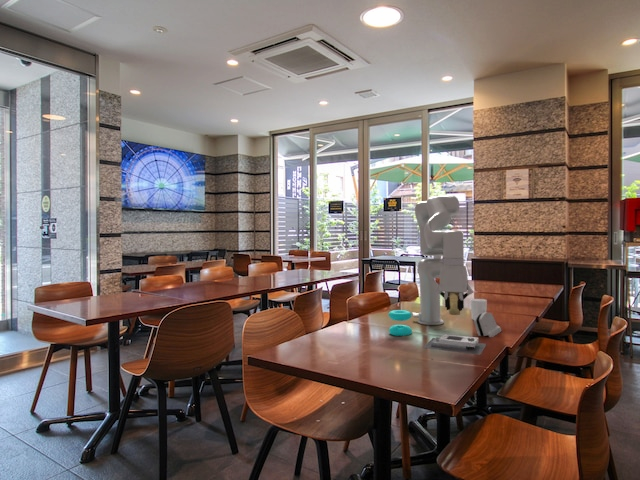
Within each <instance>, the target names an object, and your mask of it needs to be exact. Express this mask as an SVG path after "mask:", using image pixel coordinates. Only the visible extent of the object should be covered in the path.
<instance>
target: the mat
mask: <svg viewBox="0 0 640 480" xmlns="http://www.w3.org/2000/svg"><path fill="white" fill-rule="evenodd" d="M435 338H436V337H433V338H431V339H430V340H429V341H428V342H427V343H425V344H424V346H422V348H423V349H428V350H436V351H445V352H453V353H461V354H469V355H470V354H471V355H477V356H479V355H482V353H483V352H484V350H485V348H486V346H487V343H481V342H478V343H477V345H476V346H475V347H474V348H473V349H471V348H468V349H467V350H459V349H450V348H442V347H433V346H431V342H432V341H433V340H434V339H435Z"/></svg>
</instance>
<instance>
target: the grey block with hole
mask: <svg viewBox="0 0 640 480" xmlns="http://www.w3.org/2000/svg"><path fill="white" fill-rule="evenodd" d="M434 338H435V339H434V340H433V341H432V342H431V346H433V347H442V348H450V349H459V350H467V349H468V348H471V349H473V348H474V347H475V346H476V345H477V343H479V337H475V336H468V335H467V336H465V335H458V334H457V335H455V334H442V336H441V337H440V336H436V337H434Z"/></svg>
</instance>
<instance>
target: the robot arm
mask: <svg viewBox="0 0 640 480" xmlns="http://www.w3.org/2000/svg"><path fill="white" fill-rule="evenodd" d="M460 206H461V205H460V201H459V198H458V197H456V196H455V195H434V196H430V197H429V198H428V199H427V200H424V201H419V202H418V203H416V204H415V206H414V213H415V218H416V221H417V224H418V228H419V246H420V253H421V254H422V256H427V257H434V256H435V257H439V256H441V257H442V258H423V259H420V260H419V261H418V264H417V273H418V277H419V278H418V279H419V300H420V301H419V302H420V303H419V307H420V308H419V309H420V311H419V312H418V313H416V312H411V314H412V317H413V318H417V321H416V322H417V323H418V324H421V325H427V326H437V325H439V326H440V325H443V324H444V322H445V321H444V319H442V318H441V297H442V298H443V299H444V307H445V308H446V311H449V292H457V293H459V296H460V300H459V311H460V312H461V311H463V309H464V308H465V306H464V305H465V303H464V301H465V299H466V298H467V297H469V296H470V295H472V294H473V293H474V291H473V289H472V288H471V286H470V285H469V278H468V271H467V266H466V265H464V263H465V260H464V258H465V257H464V256H465V255H464V254H465V253H464V251H465V250H464V233H463V231H461V230H441V229H443V228H446V226H448V225H449V224H450V223H451V220H452V217H454V216H455V215H457V214H458V213H459V211H460ZM435 279H439V283H438V282H437V280H435Z"/></svg>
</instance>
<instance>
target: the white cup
mask: <svg viewBox="0 0 640 480" xmlns="http://www.w3.org/2000/svg"><path fill="white" fill-rule="evenodd" d="M469 301H470V302H469V303H470V305H469V306H470V315H471V320H472V321H474V319H475V317H476V316H477V315H479V314H482V313H487V312H488V311H487V310H488V308H487V305H488V304H487V303H488V300H487V299H485V298H471V299H469Z"/></svg>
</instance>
